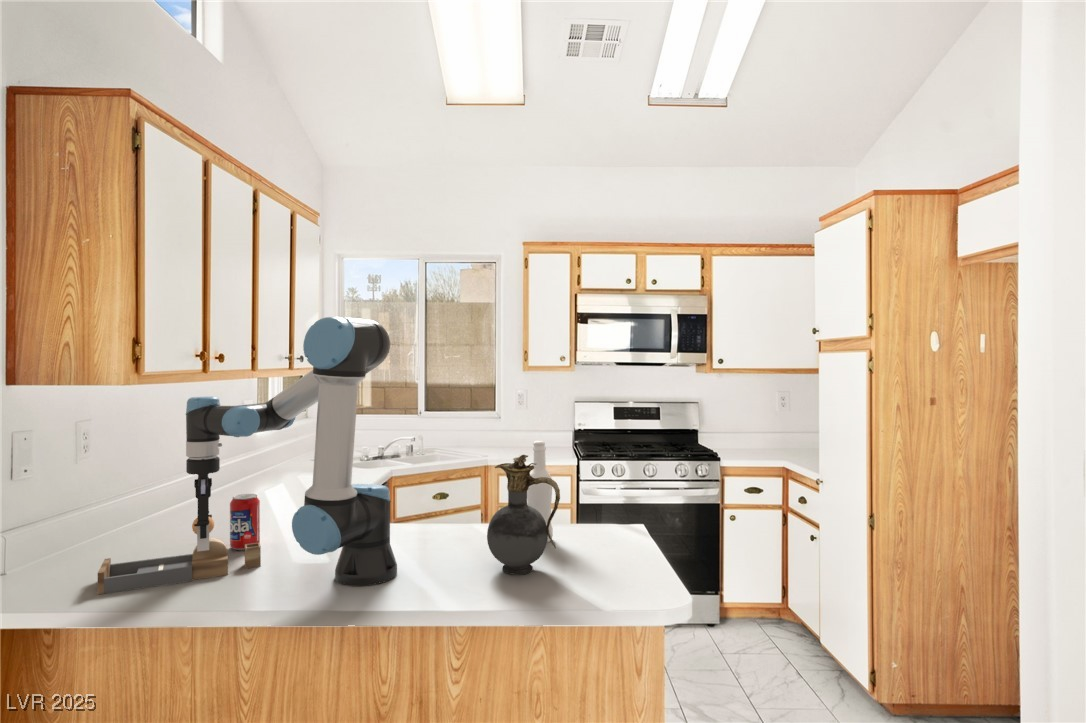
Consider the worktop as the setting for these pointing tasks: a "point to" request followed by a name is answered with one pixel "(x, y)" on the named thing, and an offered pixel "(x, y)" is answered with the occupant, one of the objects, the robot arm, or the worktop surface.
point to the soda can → (244, 521)
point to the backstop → (103, 574)
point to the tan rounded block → (210, 561)
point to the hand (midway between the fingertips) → (203, 547)
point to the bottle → (540, 485)
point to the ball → (211, 525)
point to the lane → (148, 573)
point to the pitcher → (520, 521)
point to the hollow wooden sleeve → (252, 555)
